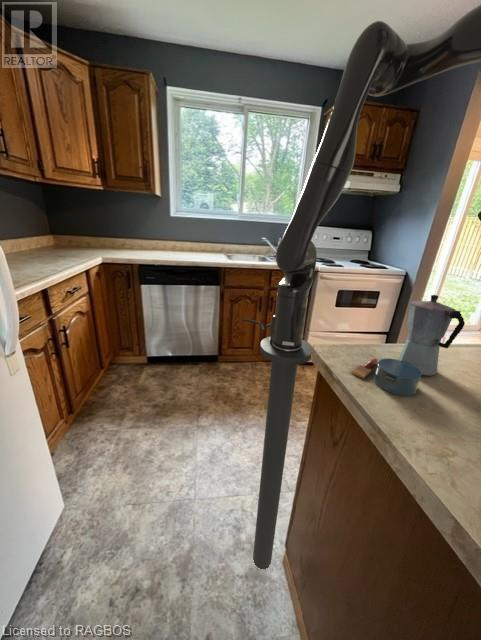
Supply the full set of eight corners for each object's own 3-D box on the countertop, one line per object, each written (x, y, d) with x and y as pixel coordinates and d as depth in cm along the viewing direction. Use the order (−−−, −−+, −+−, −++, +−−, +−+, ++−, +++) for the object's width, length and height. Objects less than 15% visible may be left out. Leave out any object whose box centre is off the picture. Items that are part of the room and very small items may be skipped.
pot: (364, 385, 64) (368, 368, 62) (384, 368, 72) (388, 353, 70) (406, 403, 58) (412, 385, 56) (422, 383, 66) (428, 367, 64)
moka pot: (408, 354, 80) (427, 288, 74) (459, 383, 67) (489, 305, 60) (381, 356, 78) (399, 289, 71) (429, 387, 64) (456, 306, 57)
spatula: (363, 378, 66) (364, 373, 66) (351, 373, 68) (352, 368, 68) (380, 364, 74) (381, 360, 73) (369, 360, 76) (370, 355, 75)
